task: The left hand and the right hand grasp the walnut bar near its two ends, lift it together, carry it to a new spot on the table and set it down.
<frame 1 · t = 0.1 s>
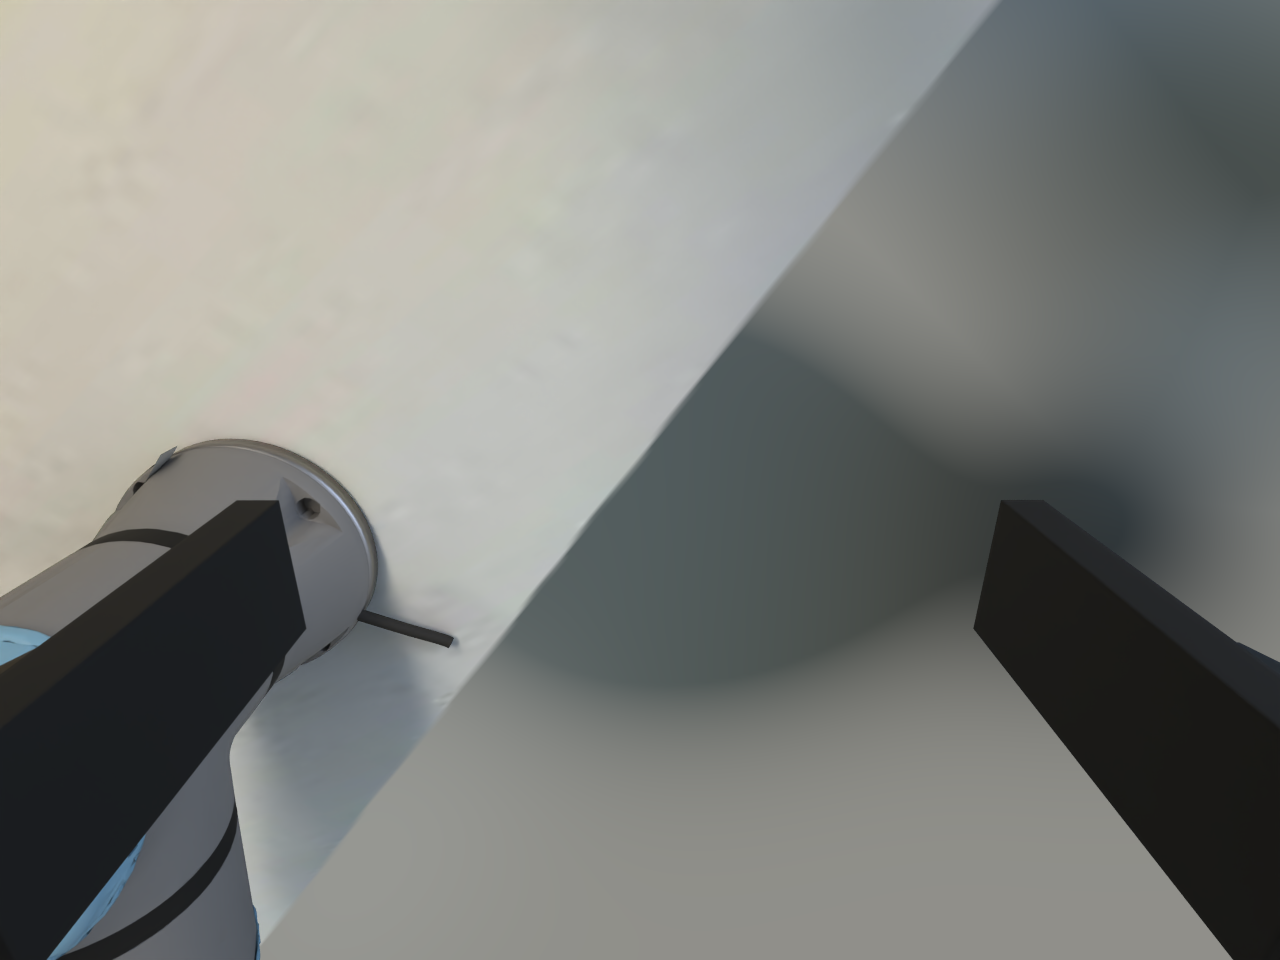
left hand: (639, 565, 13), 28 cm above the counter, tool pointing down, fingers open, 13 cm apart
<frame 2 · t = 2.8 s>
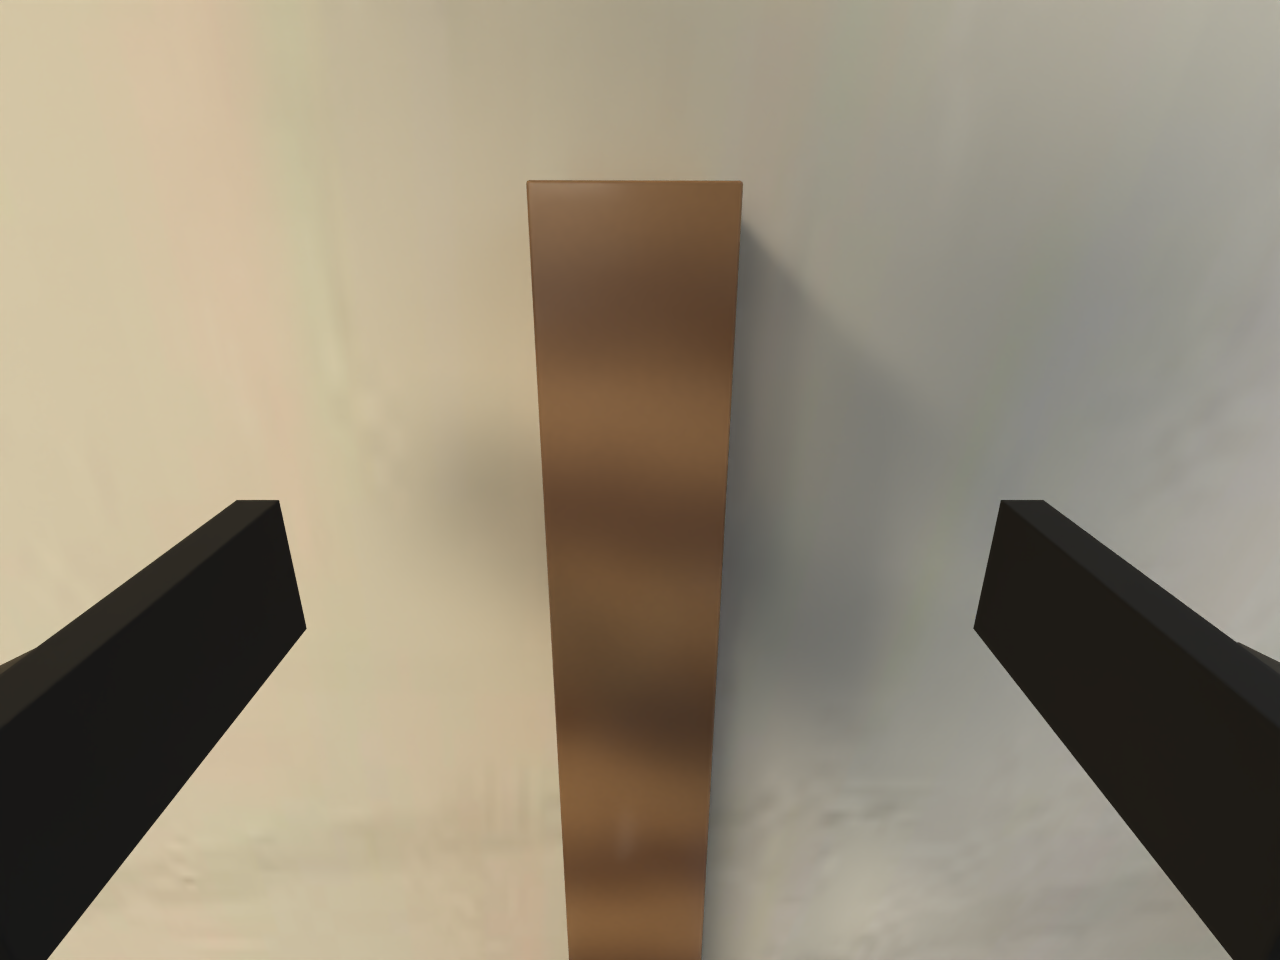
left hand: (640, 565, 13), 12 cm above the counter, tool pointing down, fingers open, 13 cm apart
bar: (636, 799, 31), on the counter, touching right hand
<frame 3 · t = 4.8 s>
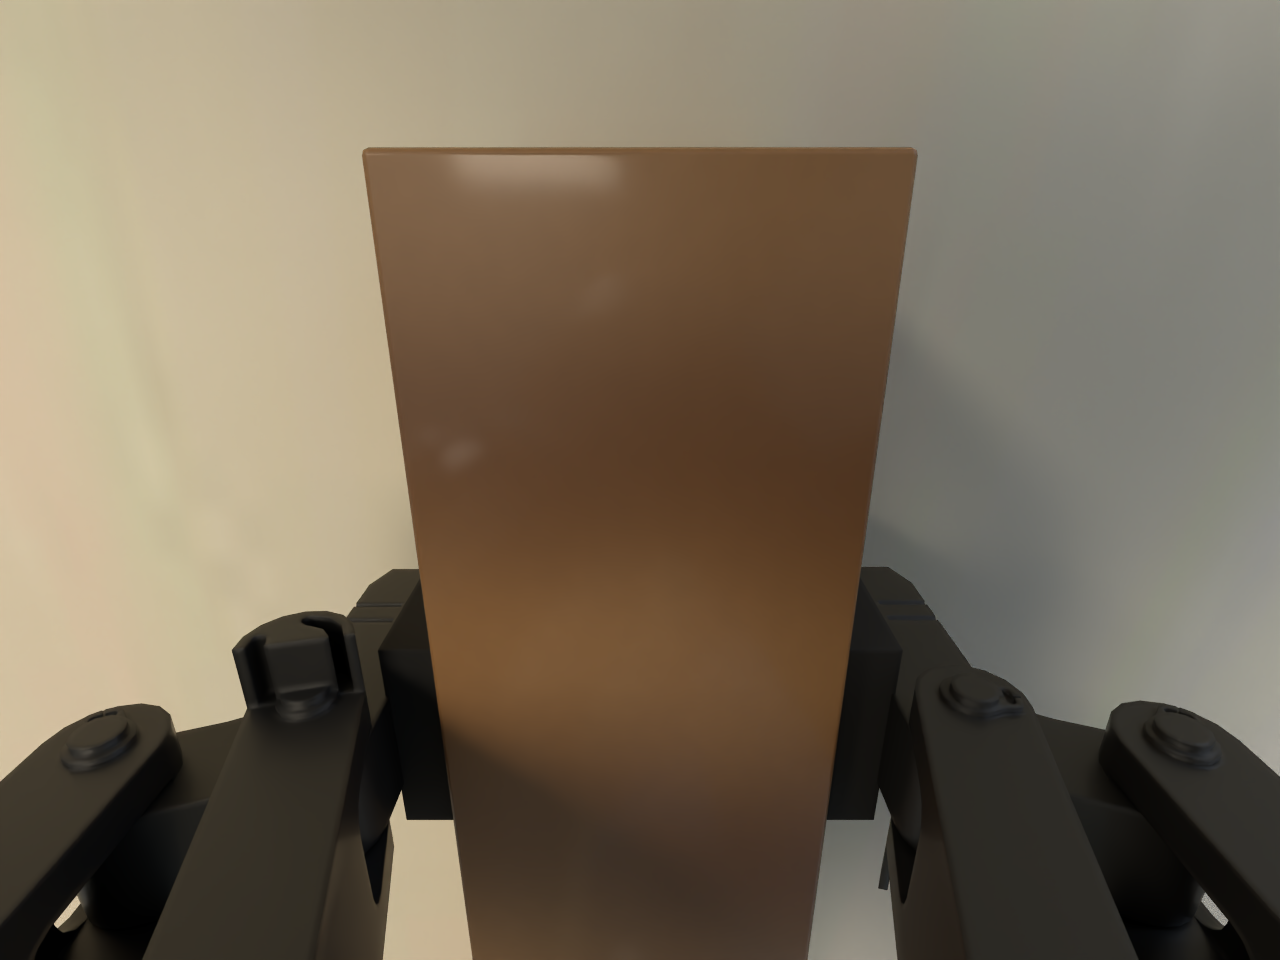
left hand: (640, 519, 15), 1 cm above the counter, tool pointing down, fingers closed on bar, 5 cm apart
when the left hand's fingers open (2 cm above the counter, at t = 8.9 s): bar drops 1 cm, on the counter.
when the right hand's fingers open (2 cm above the counter, at t = 8.9 s): bar drops 1 cm, on the counter.
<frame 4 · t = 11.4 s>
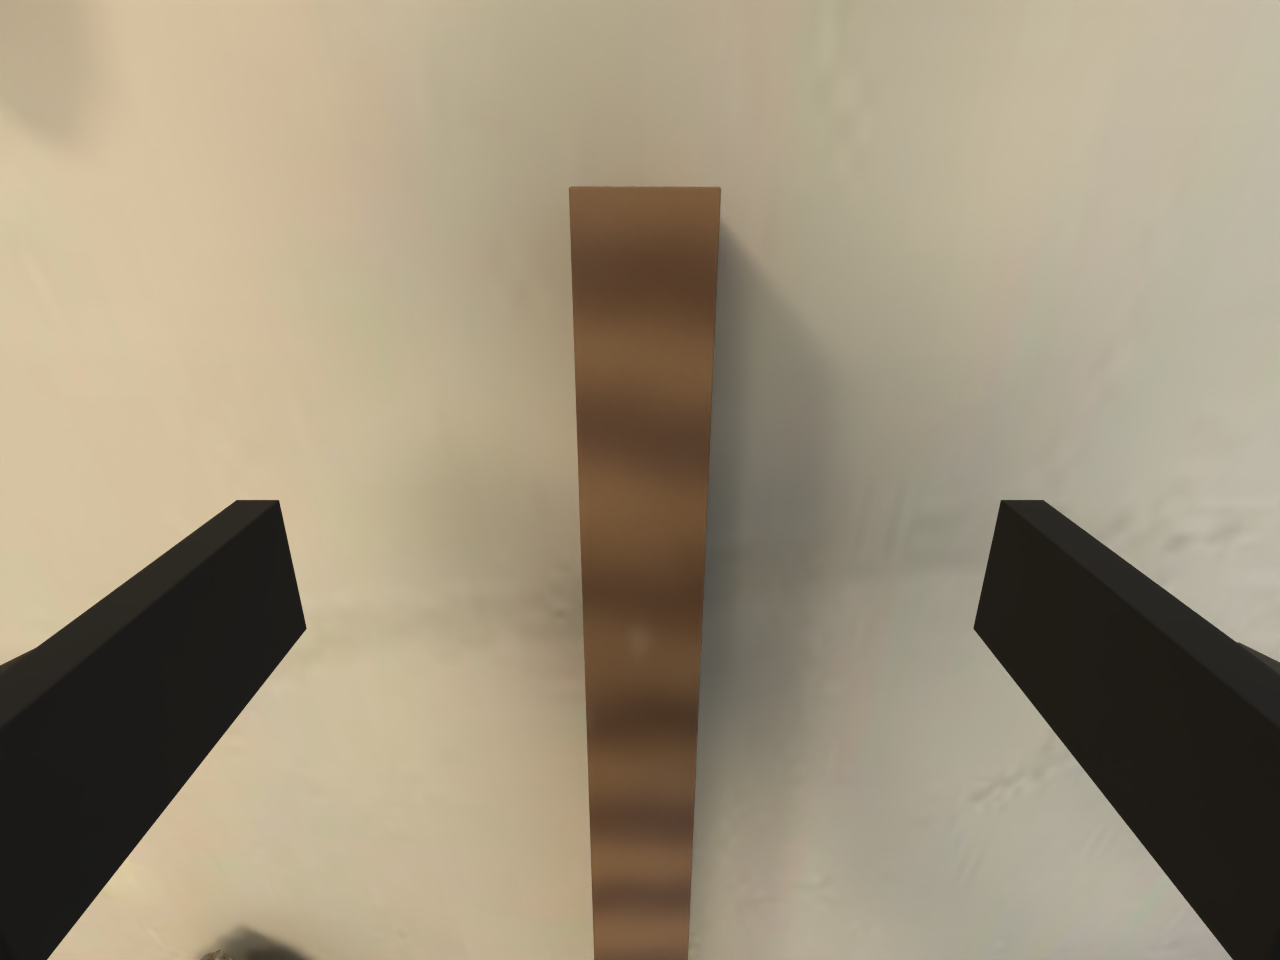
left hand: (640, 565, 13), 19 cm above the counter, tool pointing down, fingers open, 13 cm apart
bar: (641, 700, 38), on the counter
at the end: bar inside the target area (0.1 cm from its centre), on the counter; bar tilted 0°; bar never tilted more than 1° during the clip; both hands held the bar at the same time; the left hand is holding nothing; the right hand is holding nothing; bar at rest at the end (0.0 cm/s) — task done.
